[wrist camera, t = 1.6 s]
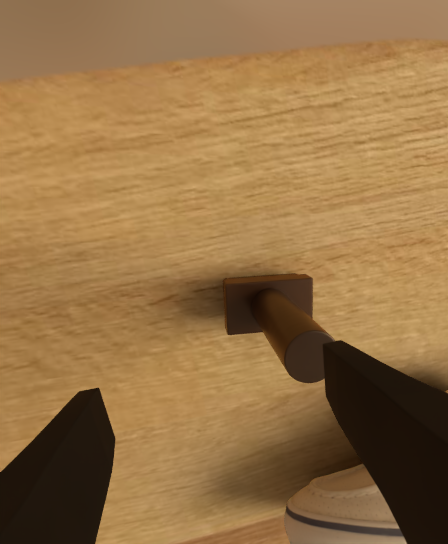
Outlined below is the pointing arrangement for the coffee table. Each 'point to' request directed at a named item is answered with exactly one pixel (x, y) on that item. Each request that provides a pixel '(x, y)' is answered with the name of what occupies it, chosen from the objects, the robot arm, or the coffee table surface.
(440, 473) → the robot arm
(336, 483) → the boat shoe
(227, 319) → the brown peg stand
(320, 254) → the coffee table surface
